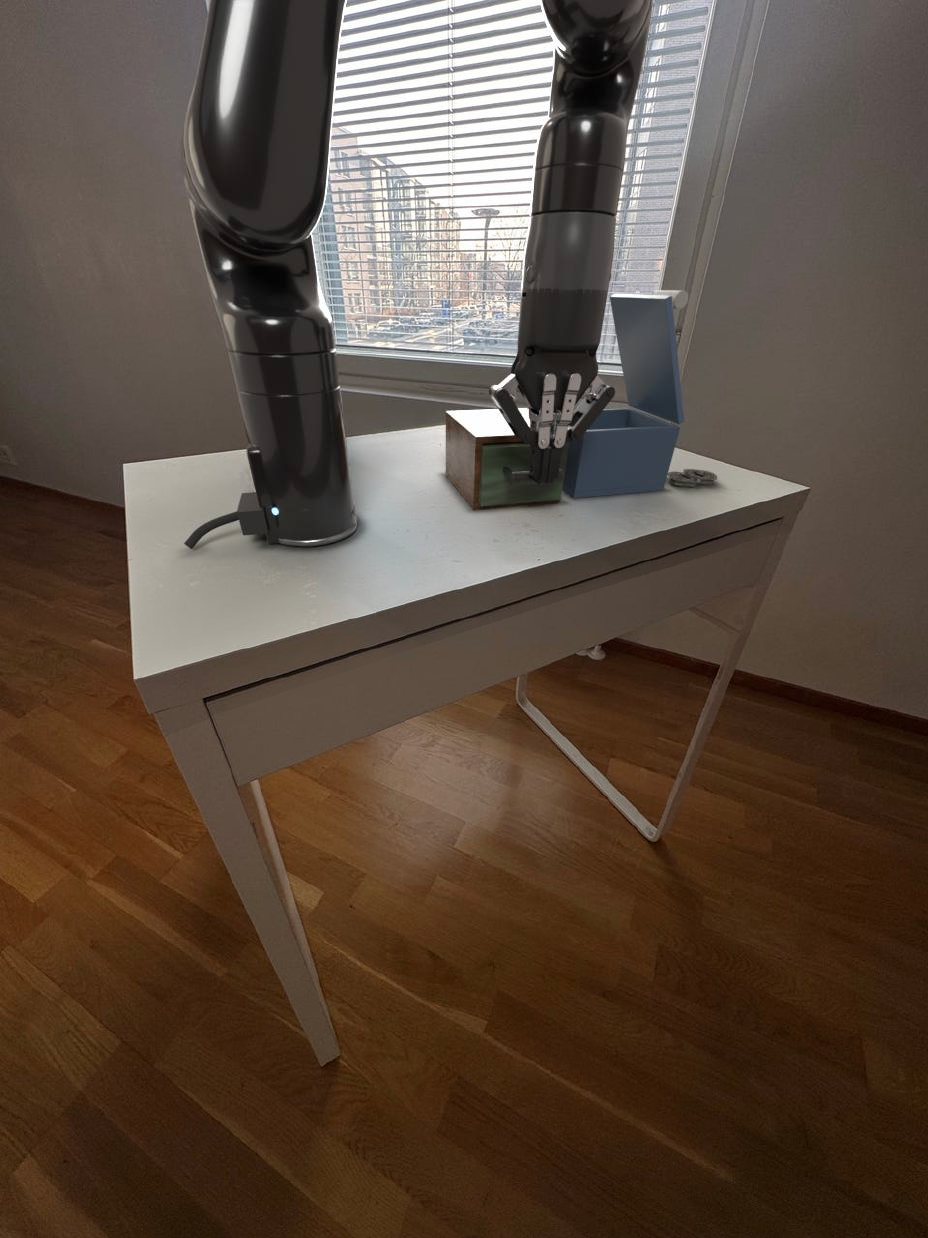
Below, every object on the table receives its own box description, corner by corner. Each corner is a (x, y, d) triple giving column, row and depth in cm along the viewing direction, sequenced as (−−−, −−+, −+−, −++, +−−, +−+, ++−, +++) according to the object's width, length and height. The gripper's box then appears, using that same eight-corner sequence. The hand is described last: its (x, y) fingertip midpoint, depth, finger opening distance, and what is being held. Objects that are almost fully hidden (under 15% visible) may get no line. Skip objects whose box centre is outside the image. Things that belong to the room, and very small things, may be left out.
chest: (573, 498, 62) (584, 431, 57) (538, 470, 71) (544, 411, 66) (663, 490, 65) (680, 426, 60) (618, 464, 74) (630, 407, 69)
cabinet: (560, 502, 60) (570, 431, 55) (473, 510, 57) (475, 436, 52) (520, 469, 71) (526, 407, 66) (445, 474, 68) (445, 410, 63)
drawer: (575, 511, 56) (585, 452, 52) (491, 519, 53) (495, 458, 49) (523, 468, 68) (527, 418, 64) (453, 473, 66) (454, 421, 62)
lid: (665, 298, 51) (706, 275, 51) (609, 296, 60) (644, 277, 60) (678, 424, 60) (714, 405, 60) (628, 405, 69) (659, 389, 69)
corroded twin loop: (656, 480, 68) (658, 472, 67) (695, 473, 71) (697, 466, 70) (684, 491, 64) (686, 484, 64) (724, 483, 67) (726, 476, 67)
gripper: (610, 288, 46) (581, 468, 56) (479, 283, 43) (473, 475, 52) (655, 287, 40) (614, 489, 50) (508, 281, 37) (495, 498, 47)
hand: (542, 481), depth 51 cm, fingers closed
